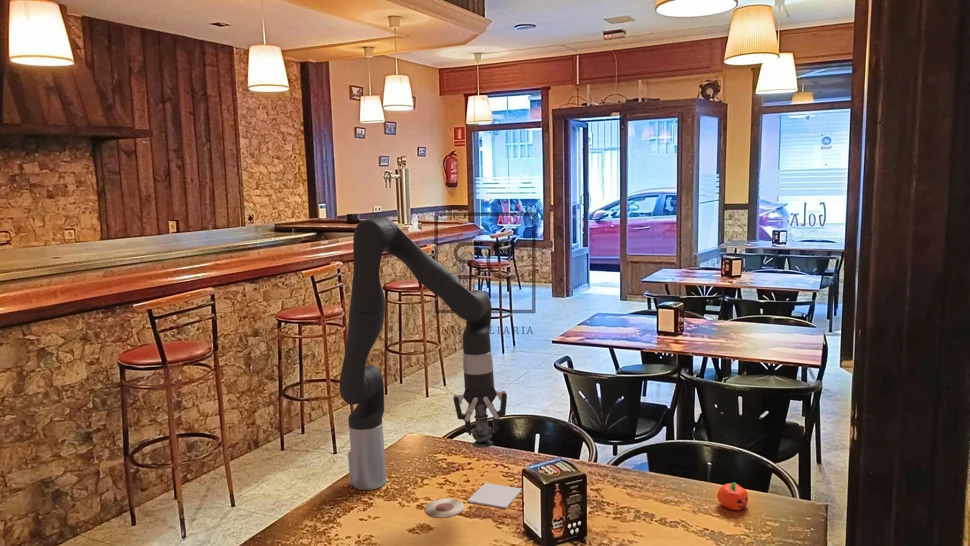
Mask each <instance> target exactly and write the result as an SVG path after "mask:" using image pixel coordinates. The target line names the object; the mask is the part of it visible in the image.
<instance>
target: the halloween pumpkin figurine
mask: <svg viewBox="0 0 970 546" xmlns="http://www.w3.org/2000/svg"><path fill="white" fill-rule="evenodd" d="M716 495H717V496H716V497H717V500H718V502H719V503H720V505H722V506H723V507H725V508H727V509H729V510H732V511H740V510H742V509H744V508H746V506H747V505H748V504H749V495H748V491H747V490H746V489H745V488H744V487H742V486H740V485H739V484H738V483H736V482H734V481H733V482H731V483H730V482H729V483H725V484H723V485H722V486H721V487H720V488H719V489H718V490H717V494H716Z"/></svg>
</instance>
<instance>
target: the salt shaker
mask: <svg viewBox="0 0 970 546" xmlns="http://www.w3.org/2000/svg"><path fill="white" fill-rule="evenodd" d="M474 412H475V414H474V417H473V418H474V419H475V426H474V428H471V436H472V437H473V439H474V440H475V441H474V442H473V443H472V446H473V447H475V448H477V449H486V448H489V447H492V446H493V445H494V441H492V440H491V438H492V437H493V434H494V430H493V428H492V427H491V426H489V423H488V417H489V415H488V414H487V412H488V411H487V409H485V407H484V405H478V406H477V409H474Z"/></svg>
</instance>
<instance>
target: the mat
mask: <svg viewBox="0 0 970 546" xmlns="http://www.w3.org/2000/svg"><path fill="white" fill-rule="evenodd" d="M521 489H522V488H520V487H514V486H508V485H507V486H506V485H502V484H501V485H500V484H495V483H487V482H485V483H483V484H482V486H481V487H479V488H478V489H477V490H476V491H475V492H474V493H473V494H472V495H471V496H470V497H469V498H468V499H467V500H466V503H471V504H477V505H483V506H488V507H489V506H490V507H493V508H494V507H496V508H500V509H507V508H508V507H509V506H510V505H511V504H512V503H513V502H512V501H514V500H516V498H517V497H518V496H519V495H520V494H521V493H522V491H521Z"/></svg>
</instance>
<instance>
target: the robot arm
mask: <svg viewBox="0 0 970 546" xmlns="http://www.w3.org/2000/svg"><path fill="white" fill-rule="evenodd" d="M352 244H353V247H352V248H353V253H352V254H353V273H352V283H351V295H350V297H351V298H350V304H349V311H348V326H347V333H346V334H347V336H346V343H345V344H346V345H345V352H344V357H343V361H342V364H341V365H342V366H341V369H340V370H341V371H340V375H339V383H338V385H339V387H338V388H339V393H340V396H341V398H342V400H343V401H344V402H345V404H347V405H352V406H353V405H356V407H355V409H353V410H352V411H351V413H350V414H349V416H348V417H347V421H348V433H349V446H350V447H349V448H350V450H349V451H348V453H347V458H348V470H349V485H350V486H352V487H354V488H355V489H357V490H363V491H371V490H376V489H379V488H381V487H383V486H384V485H386V483H387V481H388V480H387V467H386V453H385V441H384V440H385V439H384V426H383V416H384V412H385V385H384V383H385V382H384V379H383V375H382V373H381V371H380V370H379V368H377V367H376V366H375V365H373V364H367V361H368V357H369V354H370V353H371V351H372V348H373V346H374V345H375V343H376V341H377V340H378V338H379V336H380V335H381V334H380V333H381V332H382V329H383V326H384V322H385V312H386V297H385V293H384V290H383V286H382V283H381V279H380V272H381V271H380V270H381V269H380V268H381V262H382V257H383V256H382V255H383V253H384V252H386V253H388V254H390V255H392V256H394V257H396V258H397V259H398V260H400V261H401V262H402V263H403V264H404V265H406V267H407V268H408V269H409V271H410V272H411V273H412V275H413V276H414V278H415V279H416V280H417V281H418V282H419V283H420V284H421V286H424V287H425V288H426V289H427V290H429V291H430V292H431V293H432V294H434V295H435V296H437V297H438V298H440V299H441V300H442V301H443V302H444V303H445V305H447V307H448V308H449V309H450V310H451V311H452V312H453V313H454V314H455V315H457V316H458V317H459V318H461V319H462V320H464V321H465V329H464V330H463V333H462V348H463V349H462V351H463V352H462V353H463V354H462V355H463V357H462V370H463V382H464V383H463V384H464V392H463V393H462V394H454V395H453V404H454V407H455V412H456V416H457V420H461V421H464V427H465V433H466V434H468V436H472V433H471V430H472V427H471V424H472V423H471V417H472V415H473V413H474V412H475V409H477V406H478V405H484V407H485V409H486V410H487V409H488V410H489V412H490V414H491V415H492V427H493V430H494V431H493V434H497V431H499V430H500V426H499V419H500V418H501V417H505V416H506V413H507V412H506V410H507V409H506V408H507V400H508V394H507V392H506V390H502V391H497V390H496V389H495V377H494V362H493V355H492V350H491V349H492V348H491V335H490V331H491V325H492V324H491V322H492V302H491V298H490V296H489V295H488V293H487V292H485V291H484V290H480V289H475V290H472V291H470V290H468V289H467V288H466V287H465V286H464V285H462V284H461V279H460V277H459V276H457V275H456V274H455V273H453V272H452V271H451V270H449V269H448V268H446V267H445V266H444V265H443V264H441V263H440V262H438V261H437V260H436V259H434V258H433V257H431V255H429V254H428V253H427V252H425V251H424V250H423V249H422V248H421V247H420V246H419V245H417V243H416V242H414V240H412V239H411V238H410V237H409V236H408V235H407V234H406V233H405V232H404V230H402V228H400V227H399V225H397V224H396V223H395V222H394V221H393V220H391V219H390V218H388V217H386V216H375V217H371V218H367V219H364V220H361V221H360V222H358V223H357V225H356V227H355V228H354V232H353V241H352ZM496 397H497V398H498V401H500V404H499V405H500V408H499V410H497V409H496V408H495V406H494V404H493V402H494V400H495V399H496ZM463 400H465V401H466V403H468V406H467V409H466V411H465V413H463V412H462V408H461V404H462V403H463Z"/></svg>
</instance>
